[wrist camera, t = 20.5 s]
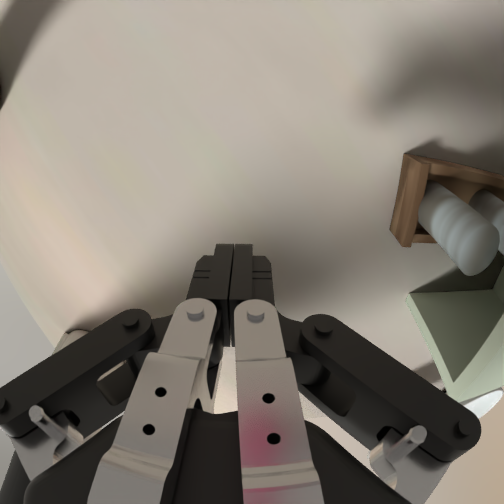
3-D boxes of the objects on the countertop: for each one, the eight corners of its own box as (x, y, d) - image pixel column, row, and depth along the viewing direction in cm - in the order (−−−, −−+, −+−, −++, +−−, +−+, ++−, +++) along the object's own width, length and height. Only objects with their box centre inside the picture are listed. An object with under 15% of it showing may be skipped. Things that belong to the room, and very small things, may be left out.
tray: (389, 229, 23) (436, 296, 15) (403, 153, 20) (471, 195, 12) (512, 237, 23) (556, 282, 15) (528, 183, 19) (580, 222, 11)
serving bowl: (429, 381, 38) (440, 413, 32) (506, 352, 36) (519, 377, 30) (398, 427, 49) (403, 452, 43) (467, 403, 47) (475, 424, 41)
